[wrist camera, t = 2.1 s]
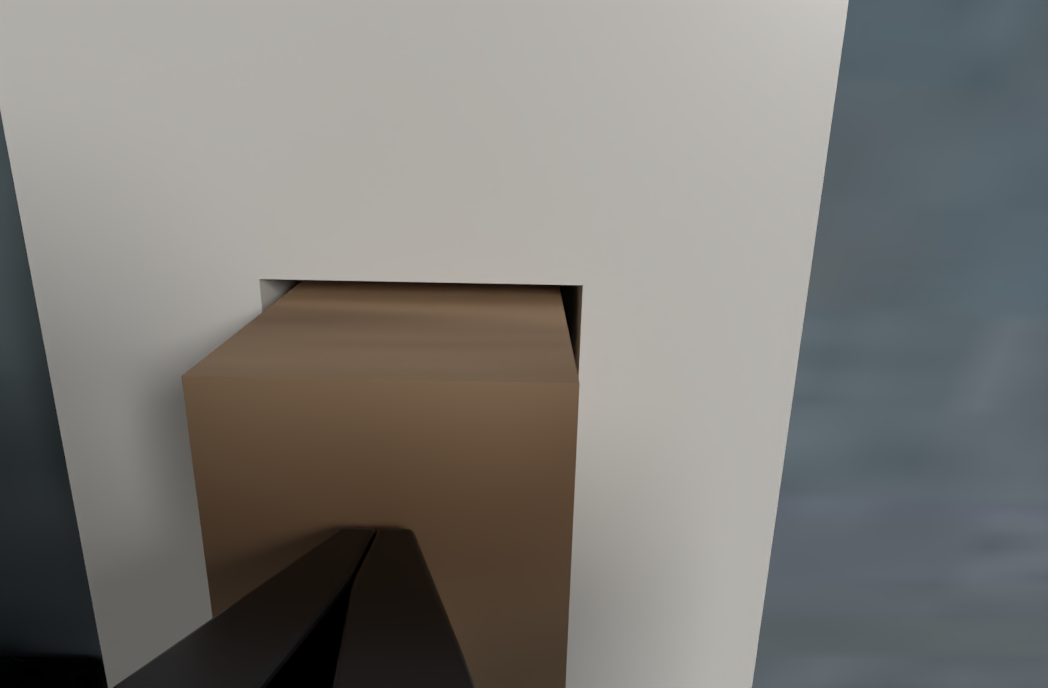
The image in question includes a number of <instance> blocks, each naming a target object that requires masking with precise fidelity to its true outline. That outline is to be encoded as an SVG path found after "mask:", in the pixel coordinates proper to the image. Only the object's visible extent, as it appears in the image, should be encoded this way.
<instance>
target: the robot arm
mask: <svg viewBox="0 0 1048 688" xmlns="http://www.w3.org/2000/svg"><path fill="white" fill-rule="evenodd" d="M86 676H87V677H89V678H91V679H92V680H91V679H88V678H87V677H86ZM0 688H108V685H107V679H106V674H105V669H104V663H103V662H101V661H99V660H97V659H93V658H53V657H0ZM113 688H477V687H476V684H475V682H474V679H473V677H472V675H471V672H470V670H469V667H468V665H467V662H466V660H465V657H464V655H463V652H462V650H461V647H460V645H459V642H458V640H457V637H456V635H455V632H454V630H453V628H452V625H451V623H450V620H449V618H448V615H447V613H446V610H445V608H444V605H443V603H442V600H441V598H440V595H439V593H438V590H437V588H436V585H435V583H434V580H433V578H432V576H431V573H430V571H429V568H428V566H427V563H426V561H425V558H424V556H423V553H422V551H421V548H420V546H419V543H418V541H417V538H416V536H415V534H414V532H413V531H412V530H411V529H380V530H379V531H378V532H376V531H375V530H374V529H371V528H343V529H341V530H339V531H337V532H336V533H334V534H333V535H331V536H330V537H329V538H327V539H326V540H324V541H323V542H321V543H320V544H318V545H317V546H316V547H314V548H313V549H311V550H310V551H308V552H307V553H305V554H304V555H303V556H301V557H300V558H298V559H297V560H295V561H294V562H293V563H291V564H290V565H288V566H287V567H285V568H284V569H282V570H281V571H280V572H278V573H277V574H275V575H274V576H272V577H271V578H269V579H268V580H267V581H265V582H264V583H262V584H261V585H259V586H258V587H257V588H255V589H254V590H252V591H251V592H249V593H248V594H246V595H245V596H244V597H242V598H241V599H239V600H238V601H236V602H235V603H233V604H232V605H231V606H229V607H228V608H226V609H225V610H223V611H222V612H221V613H219V614H218V615H216V616H215V617H213V618H212V619H210V620H209V621H208V622H206V623H205V624H203V625H202V626H200V627H199V628H197V629H196V630H195V631H193V632H192V633H190V634H189V635H187V636H186V637H184V638H183V639H182V640H180V641H179V642H177V643H176V644H174V645H173V646H172V647H170V648H169V649H167V650H166V651H164V652H163V653H161V654H160V655H159V656H157V657H156V658H154V659H153V660H151V661H150V662H148V663H147V664H146V665H144V666H143V667H141V668H140V669H138V670H137V671H135V672H134V673H133V674H131V675H130V676H128V677H127V678H125V679H124V680H122V681H121V682H120V683H118V684H117V685H115V686H114V687H113Z"/></svg>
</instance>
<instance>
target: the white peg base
mask: <svg viewBox="0 0 1048 688" xmlns="http://www.w3.org/2000/svg"><path fill="white" fill-rule="evenodd" d="M848 2H849V0H0V111H1V116H2V122H3V127H4V132H5V138H6V143H7V148H8V154H9V159H10V165H11V170H12V175H13V181H14V186H15V191H16V197H17V202H18V207H19V213H20V218H21V224H22V229H23V234H24V240H25V245H26V250H27V256H28V261H29V266H30V272H31V277H32V283H33V288H34V293H35V299H36V304H37V309H38V315H39V320H40V325H41V331H42V336H43V342H44V347H45V352H46V358H47V363H48V368H49V374H50V379H51V384H52V390H53V395H54V401H55V406H56V411H57V417H58V422H59V427H60V433H61V438H62V443H63V449H64V454H65V459H66V465H67V470H68V476H69V481H70V486H71V492H72V497H73V502H74V508H75V513H76V518H77V524H78V529H79V535H80V540H81V545H82V551H83V556H84V561H85V567H86V572H87V577H88V583H89V588H90V594H91V599H92V604H93V610H94V615H95V620H96V626H97V631H98V636H99V642H100V647H101V653H102V658H103V663H104V669H105V674H106V679H107V685H108V688H113V687H114V686H115V685H117V684H118V683H120V682H121V681H122V680H124V679H125V678H127V677H128V676H130V675H131V674H133V673H134V672H135V671H137V670H138V669H140V668H141V667H143V666H144V665H146V664H147V663H148V662H150V661H151V660H153V659H154V658H156V657H157V656H159V655H160V654H161V653H163V652H164V651H166V650H167V649H169V648H170V647H172V646H173V645H174V644H176V643H177V642H179V641H180V640H182V639H183V638H184V637H186V636H187V635H189V634H190V633H192V632H193V631H195V630H196V629H197V628H199V627H200V626H202V625H203V624H205V623H206V622H208V621H209V620H210V619H212V610H211V603H210V595H209V587H208V579H207V572H206V564H205V556H204V548H203V540H202V533H201V525H200V517H199V509H198V502H197V494H196V486H195V478H194V471H193V463H192V455H191V447H190V440H189V432H188V424H187V416H186V408H185V401H184V393H183V385H182V377H181V376H182V375H183V374H185V373H186V372H187V371H188V370H190V369H191V368H192V367H194V366H195V365H196V364H197V363H199V362H200V361H201V360H202V359H204V358H205V357H206V356H208V355H209V354H210V353H211V352H213V351H214V350H215V349H216V348H218V347H219V346H220V345H222V344H223V343H224V342H225V341H227V340H228V339H229V338H230V337H232V336H233V335H234V334H235V333H237V332H238V331H239V330H241V329H242V328H243V327H244V326H246V325H247V324H248V323H249V322H251V321H252V320H253V319H255V318H256V317H257V316H258V315H260V314H261V313H262V312H263V311H265V310H266V309H267V308H269V307H270V306H271V305H272V304H274V303H275V302H276V301H277V300H279V299H280V298H281V297H283V296H284V295H285V294H286V293H288V292H289V291H290V290H291V289H293V288H294V287H295V286H297V285H298V284H299V283H300V282H302V281H303V280H333V281H385V282H437V283H489V284H540V285H559V288H560V293H561V298H562V302H563V307H564V312H565V317H566V321H567V326H568V331H569V336H570V340H571V345H572V350H573V355H574V359H575V364H576V369H577V374H578V378H579V383H580V385H579V406H578V428H577V449H576V471H575V493H574V514H573V536H572V557H571V579H570V600H569V622H568V644H567V665H566V687H565V688H752V682H753V675H754V668H755V661H756V654H757V647H758V639H759V632H760V625H761V618H762V611H763V604H764V597H765V590H766V583H767V576H768V569H769V562H770V554H771V547H772V540H773V533H774V526H775V519H776V512H777V505H778V498H779V491H780V484H781V476H782V469H783V462H784V455H785V448H786V441H787V434H788V427H789V420H790V413H791V406H792V399H793V391H794V384H795V377H796V370H797V363H798V356H799V349H800V342H801V335H802V328H803V321H804V313H805V306H806V299H807V292H808V285H809V278H810V271H811V264H812V257H813V250H814V243H815V235H816V228H817V221H818V214H819V207H820V200H821V193H822V186H823V179H824V172H825V165H826V158H827V150H828V143H829V136H830V129H831V122H832V115H833V108H834V101H835V94H836V87H837V80H838V72H839V65H840V58H841V51H842V44H843V37H844V30H845V23H846V16H847V9H848Z"/></svg>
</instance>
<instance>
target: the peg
mask: <svg viewBox="0 0 1048 688" xmlns="http://www.w3.org/2000/svg"><path fill="white" fill-rule="evenodd" d="M181 377H182V385H183V393H184V401H185V408H186V416H187V424H188V432H189V440H190V447H191V455H192V463H193V471H194V478H195V486H196V494H197V502H198V509H199V517H200V525H201V533H202V540H203V548H204V556H205V564H206V572H207V579H208V587H209V595H210V603H211V610H212V618H213V617H215V616H216V615H218V614H219V613H221V612H222V611H223V610H225V609H226V608H228V607H229V606H231V605H232V604H233V603H235V602H236V601H238V600H239V599H241V598H242V597H244V596H245V595H246V594H248V593H249V592H251V591H252V590H254V589H255V588H257V587H258V586H259V585H261V584H262V583H264V582H265V581H267V580H268V579H269V578H271V577H272V576H274V575H275V574H277V573H278V572H280V571H281V570H282V569H284V568H285V567H287V566H288V565H290V564H291V563H293V562H294V561H295V560H297V559H298V558H300V557H301V556H303V555H304V554H305V553H307V552H308V551H310V550H311V549H313V548H314V547H316V546H317V545H318V544H320V543H321V542H323V541H324V540H326V539H327V538H329V537H330V536H331V535H333V534H334V533H336V532H337V531H339V530H341V529H343V528H371V529H374V530H375V531H376V532H378V531H379V530H380V529H411V530H412V531H413V532H414V534H415V536H416V538H417V541H418V543H419V546H420V548H421V551H422V553H423V556H424V558H425V561H426V563H427V566H428V568H429V571H430V573H431V576H432V578H433V580H434V583H435V585H436V588H437V590H438V593H439V595H440V598H441V600H442V603H443V605H444V608H445V610H446V613H447V615H448V618H449V620H450V623H451V625H452V628H453V630H454V632H455V635H456V637H457V640H458V642H459V645H460V647H461V650H462V652H463V655H464V657H465V660H466V662H467V665H468V667H469V670H470V672H471V675H472V677H473V679H474V682H475V684H476V687H477V688H565V687H566V665H567V644H568V622H569V600H570V579H571V557H572V536H573V514H574V493H575V471H576V449H577V428H578V406H579V385H580V383H579V378H578V374H577V369H576V364H575V359H574V355H573V350H572V345H571V340H570V336H569V331H568V326H567V321H566V317H565V312H564V307H563V302H562V298H561V293H560V288H559V285H540V284H489V283H437V282H385V281H333V280H303V281H302V282H300V283H299V284H298V285H297V286H295V287H294V288H293V289H291V290H290V291H289V292H288V293H286V294H285V295H284V296H283V297H281V298H280V299H279V300H277V301H276V302H275V303H274V304H272V305H271V306H270V307H269V308H267V309H266V310H265V311H263V312H262V313H261V314H260V315H258V316H257V317H256V318H255V319H253V320H252V321H251V322H249V323H248V324H247V325H246V326H244V327H243V328H242V329H241V330H239V331H238V332H237V333H235V334H234V335H233V336H232V337H230V338H229V339H228V340H227V341H225V342H224V343H223V344H222V345H220V346H219V347H218V348H216V349H215V350H214V351H213V352H211V353H210V354H209V355H208V356H206V357H205V358H204V359H202V360H201V361H200V362H199V363H197V364H196V365H195V366H194V367H192V368H191V369H190V370H188V371H187V372H186V373H185V374H183V375H182V376H181Z"/></svg>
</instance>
